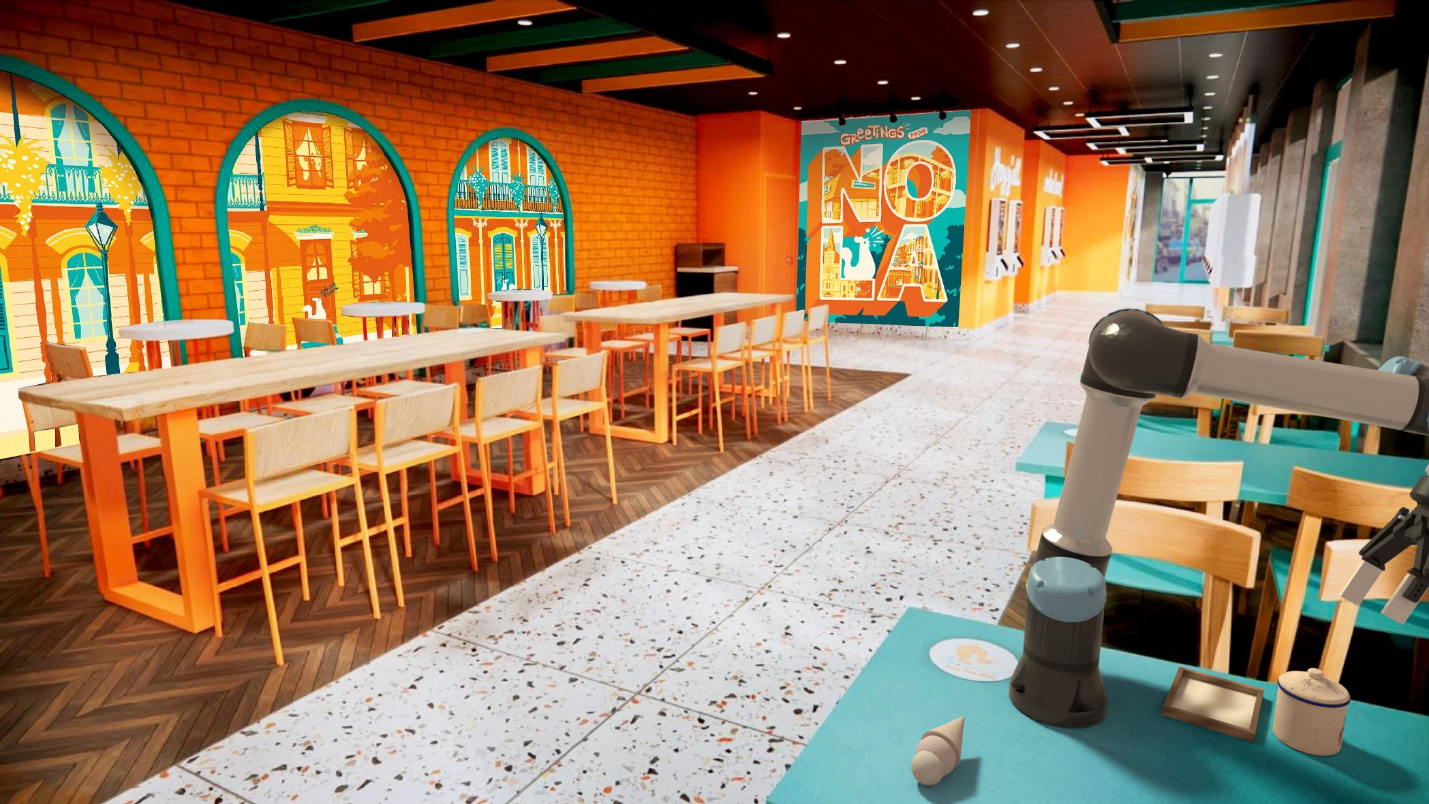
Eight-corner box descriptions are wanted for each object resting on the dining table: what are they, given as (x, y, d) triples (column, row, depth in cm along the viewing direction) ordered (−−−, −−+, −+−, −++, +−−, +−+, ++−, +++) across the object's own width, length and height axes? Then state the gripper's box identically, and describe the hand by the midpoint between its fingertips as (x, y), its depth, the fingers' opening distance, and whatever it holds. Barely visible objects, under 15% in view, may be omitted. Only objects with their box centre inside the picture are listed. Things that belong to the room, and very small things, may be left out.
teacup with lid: (1355, 761, 124) (1366, 689, 121) (1286, 754, 125) (1296, 683, 123) (1314, 715, 135) (1324, 649, 133) (1252, 710, 137) (1261, 644, 135)
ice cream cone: (967, 739, 130) (924, 803, 119) (938, 708, 131) (892, 768, 121) (992, 723, 126) (949, 788, 115) (961, 691, 127) (916, 752, 117)
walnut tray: (1161, 714, 136) (1162, 706, 135) (1178, 674, 148) (1179, 666, 148) (1253, 742, 128) (1254, 733, 128) (1263, 697, 141) (1264, 689, 140)
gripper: (1538, 506, 108) (1442, 643, 110) (1434, 494, 132) (1356, 607, 134) (1476, 476, 110) (1383, 611, 112) (1384, 469, 134) (1309, 581, 136)
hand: (1368, 609), depth 123 cm, fingers open, 13 cm apart
